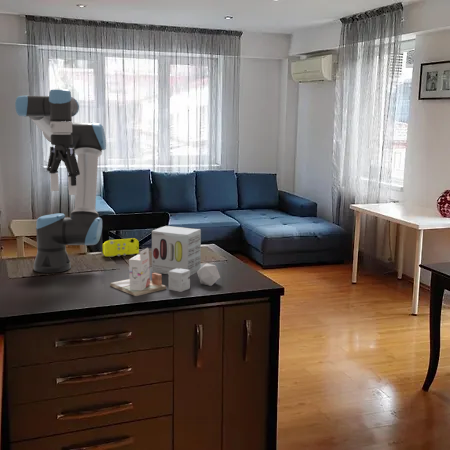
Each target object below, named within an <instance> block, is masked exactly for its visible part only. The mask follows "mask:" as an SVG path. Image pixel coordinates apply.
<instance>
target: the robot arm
mask: <svg viewBox="0 0 450 450" xmlns="http://www.w3.org/2000/svg"><path fill="white" fill-rule="evenodd" d="M14 106H15V107H14V108H15V113H16V115H17V116H19V117H28V118H30V120H32V122H33V123H34V124H35V125H36V126H37V128H39V130H41V131H42V134H43V137H44V138H45V139H46V140H47V141H48V142H49V143H50V145H51V146H50V148H49V157H48V162H47V167H46V170H47V172H48V173H49V175H50V191H51V192H58V191H60V189H59V188H60V185H59V167H60V164H61V162H63V163H64V166H65V167H66V171H67V172H68V175H67V179H68V181H67V183H68V195H69V196H75V199H74V208H73V210H71V212H70V217H66V214H64V213H63V212H62V213H59V212H58V213H52V214H45V215H42V216H39V217H38V218H37V219H36V225H35V227H36V228H35V230H36V247H37V248H36V249H37V252H36V256H35V259H34V263H33V270H34V271H35V272H36V273H37V272H38V273H43V274H54V273H61V272H66V271H69V270H70V269H71V267H72V266H71V259H70V258H69V254H68V252H67V246H94V245H97V244H98V243H99V241H100V239H101V236H102V232H103V218H101V217H100V216H99V215H100V214H99V213H98V211H97V210H96V201H97V183H98V182H97V181H98V165H99V164H98V163H99V160H98V159H99V157H100V156H102V154H103V151H104V150H106V149H107V140H106V139H107V138H106V134H105V129H104V126H103V125H102V124H101V123H99V122H98V123H97V122H73V118H72V117H75V116H76V115H77V114H78V112H79V111H80V103H79V102H78V101H77V99H76V98H74V97H72V93H71V91H70V90H69V89H50V90H49V94H48V95H27V94H26V95H18V96H17V97H16V99H15V104H14ZM76 156H77V157H76ZM66 245H67V246H66Z"/></svg>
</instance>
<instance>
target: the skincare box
mask: <svg viewBox="0 0 450 450" xmlns="http://www.w3.org/2000/svg"><path fill="white" fill-rule="evenodd" d="M189 289H191V276H190V270H187V269H181V268H177V269H173V270H171V271H169V274H168V290H169V291H174V292H180V293H181V292H185V291H187V290H189Z"/></svg>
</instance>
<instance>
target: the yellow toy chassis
mask: <svg viewBox="0 0 450 450" xmlns="http://www.w3.org/2000/svg"><path fill="white" fill-rule="evenodd" d="M139 245H140V243H139V240H138V239H137V238H135V237H131V238H121V239H120V238H119V239H108V240H106V241H104V243H102V255H103V256H104V257H108V258H113V257H115V256H117V257H121V256H123V257H126V255H128V256H135V254H136V255H138V254H140V249H139V248H140V246H139Z"/></svg>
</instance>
